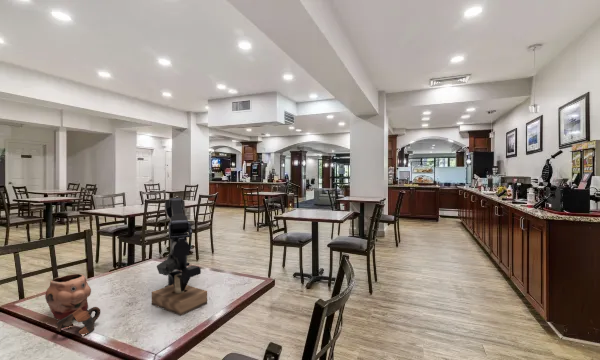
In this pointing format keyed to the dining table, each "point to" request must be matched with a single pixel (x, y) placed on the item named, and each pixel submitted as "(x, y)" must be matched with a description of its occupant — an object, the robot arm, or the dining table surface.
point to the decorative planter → (67, 295)
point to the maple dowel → (177, 285)
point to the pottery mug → (80, 320)
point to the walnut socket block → (179, 299)
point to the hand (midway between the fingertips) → (179, 290)
